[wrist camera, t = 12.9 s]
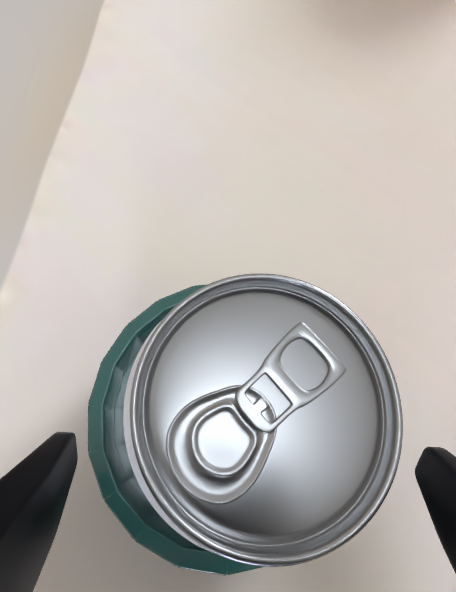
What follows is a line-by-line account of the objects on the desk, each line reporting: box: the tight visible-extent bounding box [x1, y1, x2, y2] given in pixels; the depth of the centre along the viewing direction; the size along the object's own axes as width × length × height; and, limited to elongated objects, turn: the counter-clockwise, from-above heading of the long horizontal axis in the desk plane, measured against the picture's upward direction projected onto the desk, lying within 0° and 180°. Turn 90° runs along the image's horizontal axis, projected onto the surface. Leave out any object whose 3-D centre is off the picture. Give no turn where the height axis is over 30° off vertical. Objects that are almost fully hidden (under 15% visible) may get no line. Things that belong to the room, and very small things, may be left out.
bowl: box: [88, 285, 266, 575], centre depth 16 cm, size 11×11×5 cm
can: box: [123, 274, 403, 567], centre depth 12 cm, size 6×6×12 cm
